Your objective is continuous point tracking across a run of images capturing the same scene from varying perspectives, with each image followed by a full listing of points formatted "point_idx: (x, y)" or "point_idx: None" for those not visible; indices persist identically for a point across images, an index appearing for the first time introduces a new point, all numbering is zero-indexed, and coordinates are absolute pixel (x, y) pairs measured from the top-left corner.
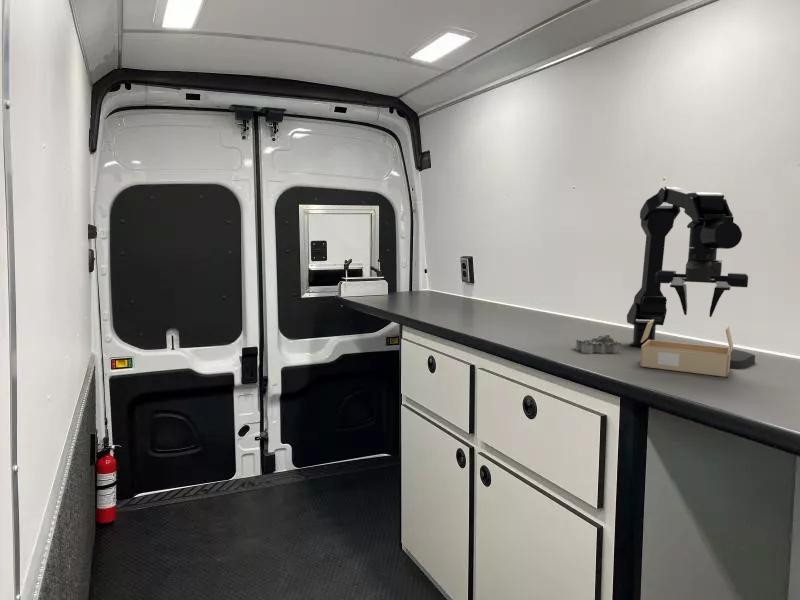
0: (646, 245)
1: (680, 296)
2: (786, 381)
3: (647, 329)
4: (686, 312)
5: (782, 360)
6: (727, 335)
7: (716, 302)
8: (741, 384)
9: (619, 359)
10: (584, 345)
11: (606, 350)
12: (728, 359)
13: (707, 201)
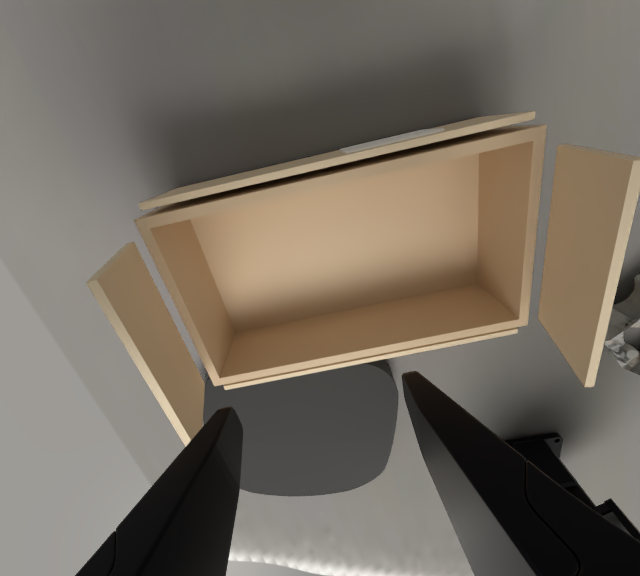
0: None
1: (583, 520)
2: (40, 287)
3: (590, 205)
4: (407, 395)
5: None
6: (103, 267)
7: (111, 540)
8: (82, 103)
9: None
10: None
11: (634, 300)
12: (147, 214)
13: None
